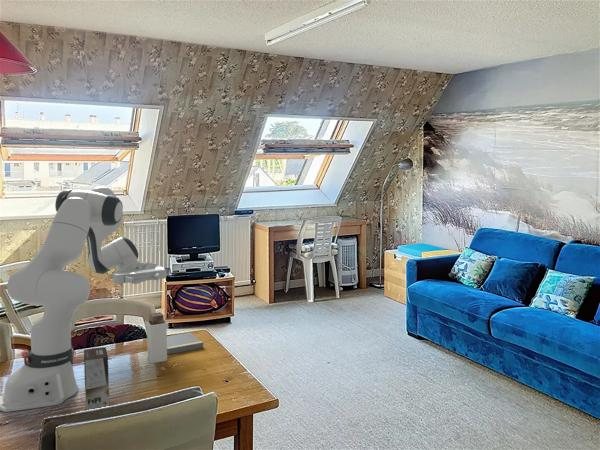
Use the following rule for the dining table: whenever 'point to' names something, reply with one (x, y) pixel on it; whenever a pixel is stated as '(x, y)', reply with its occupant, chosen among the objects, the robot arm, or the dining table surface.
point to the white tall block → (156, 341)
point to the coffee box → (96, 378)
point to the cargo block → (156, 318)
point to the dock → (182, 343)
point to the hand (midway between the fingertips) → (145, 279)
